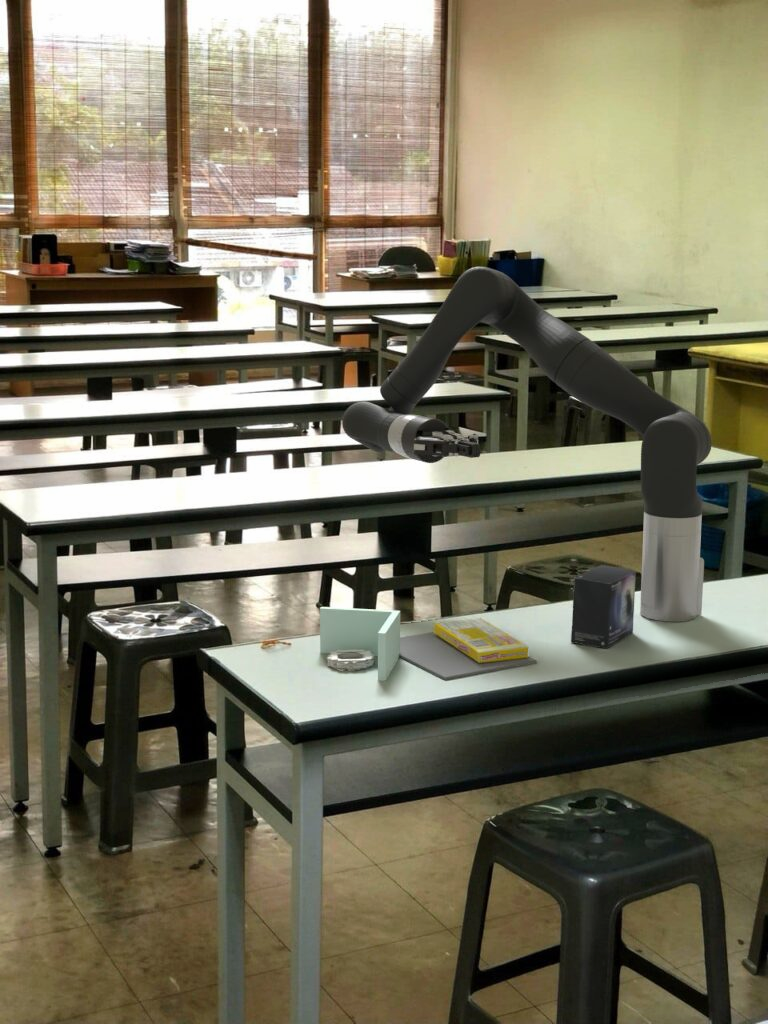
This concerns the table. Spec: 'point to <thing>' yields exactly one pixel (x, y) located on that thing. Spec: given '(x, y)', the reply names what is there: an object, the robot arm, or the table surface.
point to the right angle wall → (360, 638)
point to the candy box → (481, 640)
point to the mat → (448, 657)
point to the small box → (603, 606)
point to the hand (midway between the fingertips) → (476, 450)
